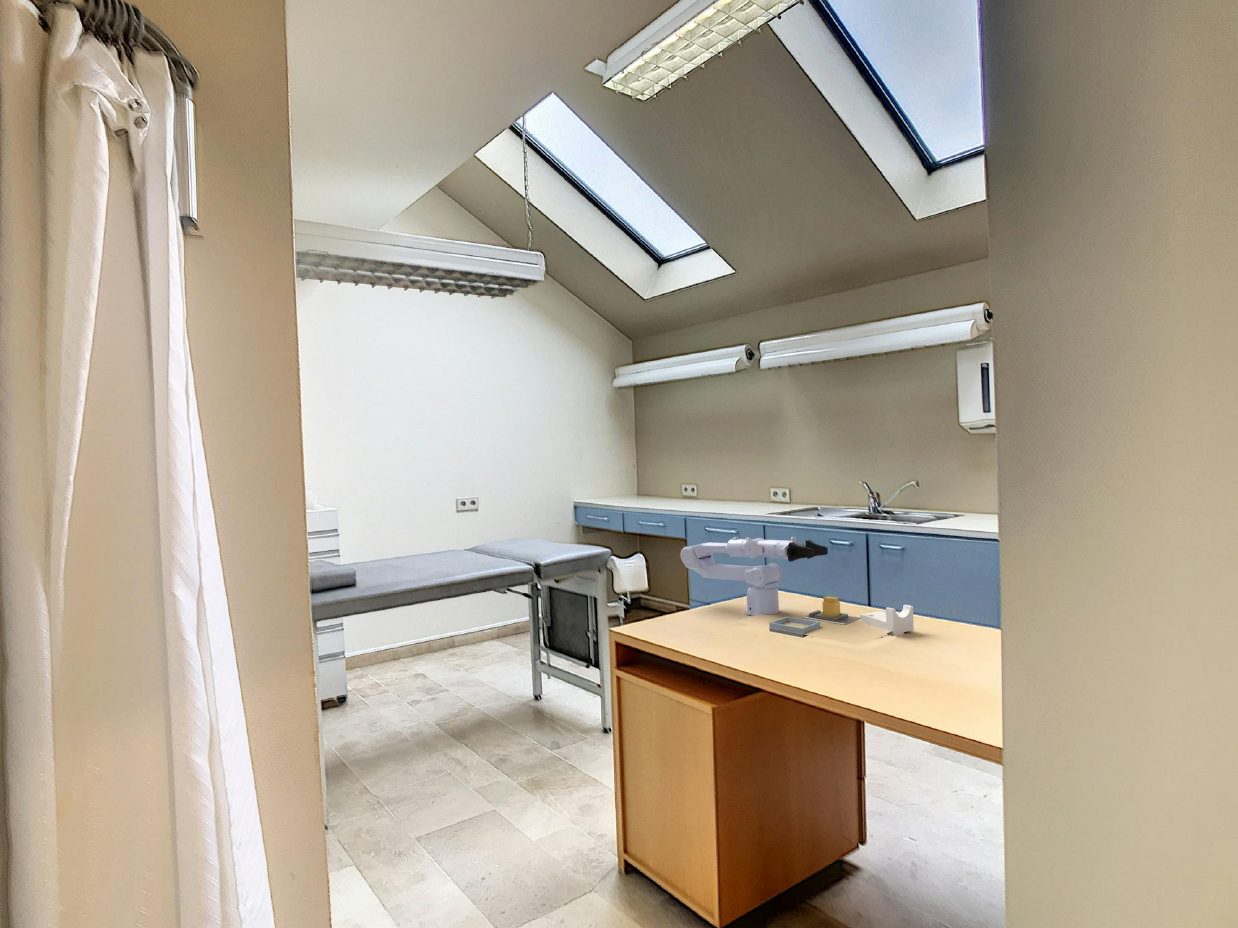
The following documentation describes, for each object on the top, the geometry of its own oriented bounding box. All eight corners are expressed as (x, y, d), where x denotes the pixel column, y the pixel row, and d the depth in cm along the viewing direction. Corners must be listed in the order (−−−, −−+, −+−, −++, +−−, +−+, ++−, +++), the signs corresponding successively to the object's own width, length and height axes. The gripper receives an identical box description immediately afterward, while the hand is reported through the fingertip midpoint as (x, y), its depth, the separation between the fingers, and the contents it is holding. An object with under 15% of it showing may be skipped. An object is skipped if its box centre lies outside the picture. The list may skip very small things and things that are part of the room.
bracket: (913, 633, 195) (912, 606, 195) (893, 637, 192) (892, 609, 192) (880, 623, 207) (879, 597, 207) (860, 626, 205) (859, 600, 204)
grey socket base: (801, 621, 212) (801, 614, 212) (819, 615, 218) (819, 608, 218) (844, 629, 201) (844, 621, 201) (862, 622, 208) (862, 614, 208)
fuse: (823, 618, 210) (822, 598, 210) (829, 615, 212) (828, 595, 212) (834, 620, 207) (833, 599, 207) (840, 617, 210) (839, 597, 210)
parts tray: (769, 631, 203) (769, 622, 203) (787, 624, 209) (786, 616, 209) (803, 637, 195) (802, 628, 195) (820, 630, 201) (820, 622, 201)
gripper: (766, 537, 212) (806, 539, 202) (793, 534, 222) (832, 536, 212) (767, 561, 212) (807, 564, 202) (793, 557, 222) (833, 560, 212)
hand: (820, 551), depth 207 cm, fingers open, 7 cm apart
